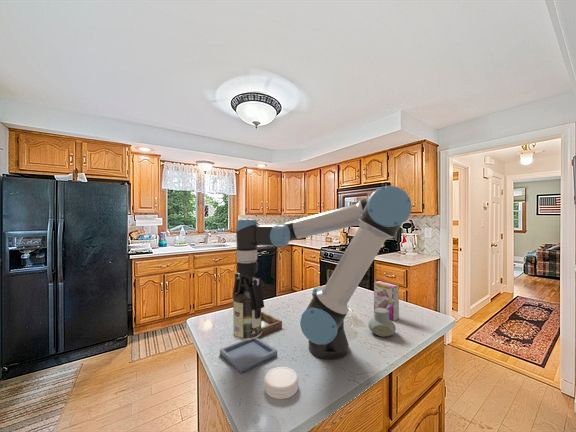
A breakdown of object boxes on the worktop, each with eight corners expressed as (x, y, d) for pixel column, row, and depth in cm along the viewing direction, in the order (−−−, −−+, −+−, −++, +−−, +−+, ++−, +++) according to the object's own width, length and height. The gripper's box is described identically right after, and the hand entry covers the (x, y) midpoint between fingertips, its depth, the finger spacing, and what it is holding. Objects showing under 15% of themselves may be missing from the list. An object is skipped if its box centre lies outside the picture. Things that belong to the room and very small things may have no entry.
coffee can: (265, 328, 94) (264, 291, 94) (256, 342, 84) (256, 300, 84) (239, 326, 97) (239, 290, 96) (228, 339, 86) (227, 299, 86)
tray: (277, 355, 90) (277, 350, 90) (241, 373, 80) (241, 367, 80) (253, 340, 101) (253, 335, 101) (219, 354, 91) (219, 349, 91)
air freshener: (368, 336, 104) (368, 312, 104) (368, 327, 112) (368, 305, 111) (396, 339, 100) (396, 315, 100) (394, 330, 108) (394, 307, 108)
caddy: (282, 327, 112) (282, 321, 112) (254, 338, 102) (254, 331, 102) (262, 317, 124) (262, 311, 124) (236, 327, 114) (236, 320, 114)
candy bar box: (373, 314, 126) (373, 282, 126) (379, 311, 129) (379, 280, 129) (393, 321, 117) (393, 287, 117) (399, 319, 120) (399, 285, 120)
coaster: (260, 398, 69) (260, 386, 69) (268, 375, 79) (268, 364, 79) (296, 402, 68) (295, 389, 68) (300, 378, 78) (299, 367, 78)
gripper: (274, 264, 84) (275, 329, 85) (239, 256, 101) (240, 310, 101) (256, 267, 79) (256, 336, 80) (223, 258, 96) (223, 315, 96)
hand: (247, 322), depth 90 cm, fingers closed on coffee can, 10 cm apart
